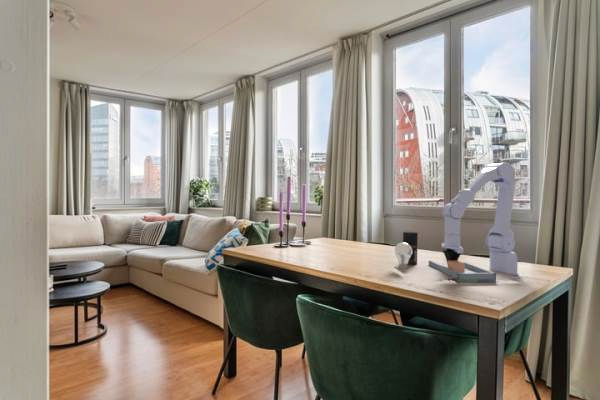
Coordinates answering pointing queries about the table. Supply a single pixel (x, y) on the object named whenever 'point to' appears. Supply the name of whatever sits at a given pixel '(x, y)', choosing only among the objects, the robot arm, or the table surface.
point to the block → (457, 266)
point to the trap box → (467, 273)
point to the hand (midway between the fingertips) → (451, 268)
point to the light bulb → (403, 254)
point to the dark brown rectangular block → (412, 241)
